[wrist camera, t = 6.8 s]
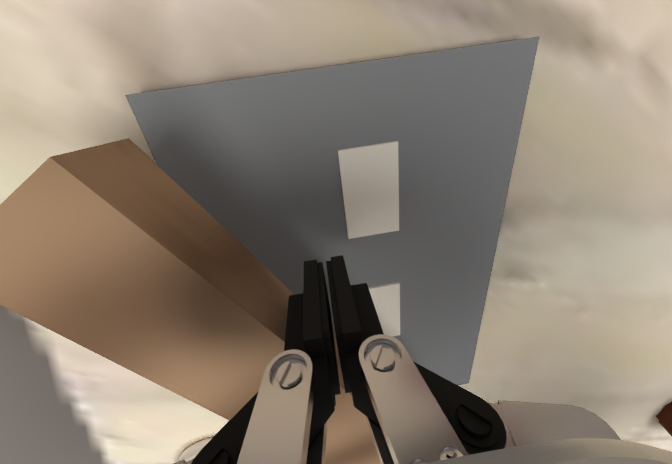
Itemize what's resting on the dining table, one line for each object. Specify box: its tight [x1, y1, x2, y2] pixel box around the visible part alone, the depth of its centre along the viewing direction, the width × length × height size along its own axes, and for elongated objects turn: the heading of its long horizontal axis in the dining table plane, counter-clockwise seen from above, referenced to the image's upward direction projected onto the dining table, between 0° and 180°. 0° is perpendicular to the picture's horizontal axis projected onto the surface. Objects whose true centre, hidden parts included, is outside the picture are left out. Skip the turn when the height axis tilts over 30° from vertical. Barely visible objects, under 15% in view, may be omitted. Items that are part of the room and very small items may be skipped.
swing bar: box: [0, 139, 381, 464], centre depth 13 cm, size 26×5×3 cm, turn 34°
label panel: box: [126, 37, 539, 385], centre depth 16 cm, size 26×18×4 cm
